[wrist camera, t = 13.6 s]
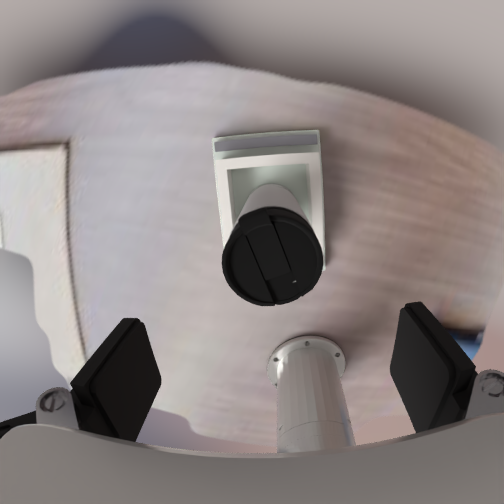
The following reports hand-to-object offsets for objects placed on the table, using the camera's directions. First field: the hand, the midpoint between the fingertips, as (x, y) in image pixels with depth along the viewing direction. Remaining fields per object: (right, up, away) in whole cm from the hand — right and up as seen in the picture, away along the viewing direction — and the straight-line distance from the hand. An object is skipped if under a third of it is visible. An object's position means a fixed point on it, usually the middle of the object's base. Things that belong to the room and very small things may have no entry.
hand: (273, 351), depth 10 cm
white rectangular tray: (+2, +9, +27) cm, 29 cm away
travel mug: (+2, +9, +26) cm, 28 cm away
